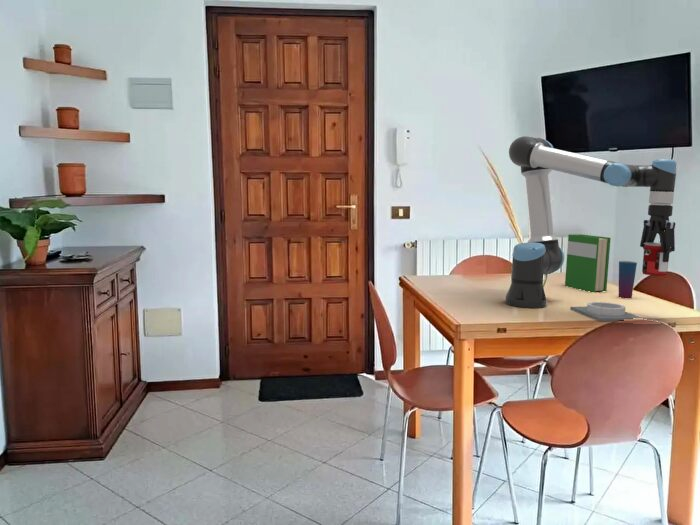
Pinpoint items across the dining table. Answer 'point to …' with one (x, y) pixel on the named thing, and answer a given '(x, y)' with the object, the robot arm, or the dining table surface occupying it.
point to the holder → (604, 311)
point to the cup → (626, 278)
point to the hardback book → (587, 262)
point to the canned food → (652, 259)
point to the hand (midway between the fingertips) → (654, 269)
